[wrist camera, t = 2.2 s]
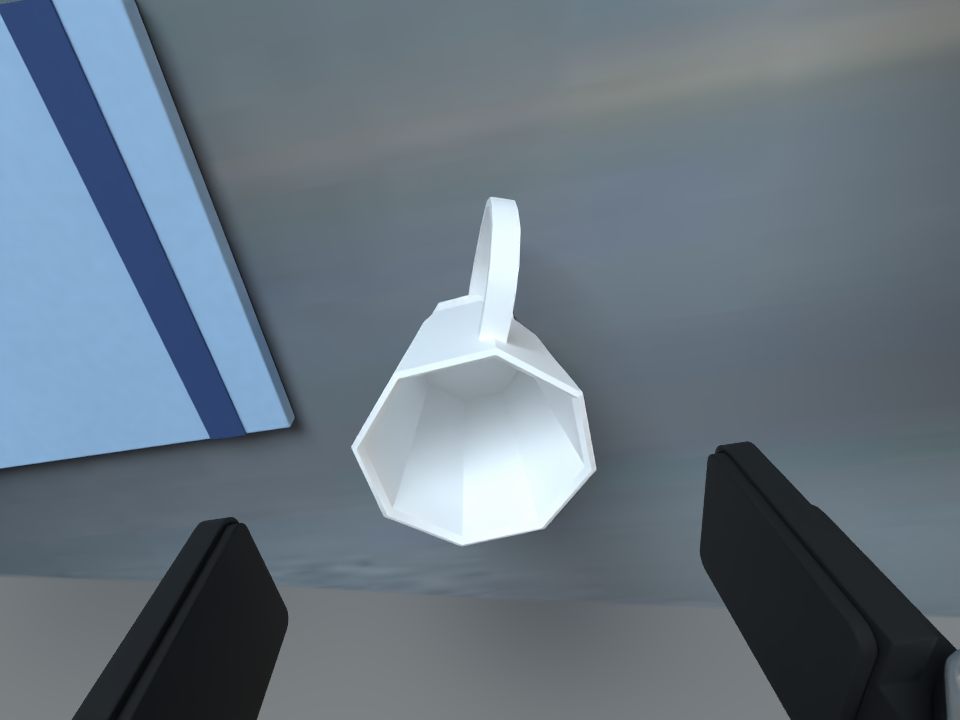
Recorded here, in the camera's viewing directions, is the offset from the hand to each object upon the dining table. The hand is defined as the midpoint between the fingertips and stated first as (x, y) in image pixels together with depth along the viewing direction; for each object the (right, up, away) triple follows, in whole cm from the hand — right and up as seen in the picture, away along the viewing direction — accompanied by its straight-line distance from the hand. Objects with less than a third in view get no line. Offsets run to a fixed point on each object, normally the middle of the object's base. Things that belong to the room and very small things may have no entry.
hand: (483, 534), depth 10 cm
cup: (0, +6, +10) cm, 12 cm away
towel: (-20, +6, +9) cm, 23 cm away
